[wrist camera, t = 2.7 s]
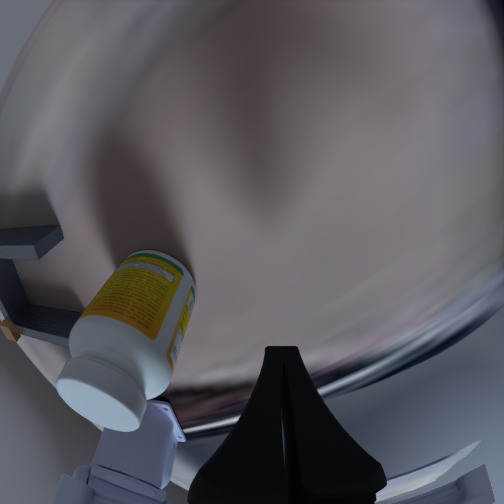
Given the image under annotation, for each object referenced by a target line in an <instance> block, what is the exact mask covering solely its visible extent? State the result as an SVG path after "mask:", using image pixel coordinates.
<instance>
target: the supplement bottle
mask: <svg viewBox="0 0 504 504" xmlns="http://www.w3.org/2000/svg"><path fill="white" fill-rule="evenodd" d="M195 299H196V288H195V284H194V281H193V279H192V276H191V275H190V273H189V272H188V270H187V269H186V268H185V267H184V266H183V265H182V264H181V263H180V262H179V261H177V260H176V259H174V258H172V257H171V256H169V255H167V254H164V253H162V252H158V251H154V250H143V251H138V252H135V253H133V254H131V255H129V256H128V257H127V258H126V259H125V260H124V261H123V262H122V263H121V264H120V265H119V267H118V268H117V269H116V270H115V271H114V272H113V274H112V275H111V276H110V278H109V279H108V280H107V281H106V283H105V284H104V285H103V287H102V288H101V289H100V290H99V292H98V293H97V294H96V296H95V297H94V298H93V300H92V301H91V302H90V304H89V305H88V306H87V308H86V309H85V311H84V312H83V313H82V315H81V316H80V317H79V319H78V320H77V322H76V323H75V324H74V326H73V328H72V330H71V332H70V336H69V350H70V353H71V356H72V359H70V360H68V361H67V362H66V363H65V365H64V368H63V369H62V371H61V373H60V375H59V377H58V379H57V382H56V388H57V391H58V393H59V394H60V396H61V397H62V398H63V400H64V401H65V402H66V403H67V404H68V405H69V406H70V407H71V408H72V409H74V410H75V411H76V412H78V413H79V414H80V415H82V416H83V417H85V418H87V419H88V420H90V421H92V422H94V423H96V424H98V425H101V426H103V427H106V428H109V429H113V430H117V431H123V432H130V431H134V430H136V429H138V428H139V426H140V424H141V421H142V418H143V415H144V412H145V410H146V407H147V400H149V399H152V398H155V397H157V396H158V395H160V394H161V393H162V392H163V391H164V390H165V389H166V388H167V386H168V384H169V382H170V380H171V377H172V373H173V370H174V367H175V364H176V360H177V357H178V354H179V351H180V347H181V344H182V341H183V338H184V335H185V332H186V329H187V326H188V323H189V319H190V316H191V313H192V310H193V307H194V303H195Z"/></svg>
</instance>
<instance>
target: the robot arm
mask: <svg viewBox="0 0 504 504" xmlns="http://www.w3.org/2000/svg"><path fill="white" fill-rule="evenodd" d="M281 413H282V422H283V431H284V442H285V467H284V454H283V439H282V422H281ZM178 441H181V442H185V441H186V437H185V435H184V433H183V431H182V429H181V427H180V425H179V423H178V421H177V418H176V416H175V414H174V412H173V410H172V407H171V405H170V404H169V403H168V402H164V401H158V400H152V399H149V400H147V407H146V410H145V412H144V415H143V418H142V421H141V424H140V426H139V428H138V429H136V430H134V431H130V432H123V431H117V430H113V429H109V428H106V427H104V430H103V433H102V435H101V438H100V441H99V444H98V447H97V450H96V452H95V455H94V458H93V461H92V465H91V466H89V467H86V466H84V465H83V466H81V467H77V468H76V470H75V472H74V474H73V476H72V477H70V476H68V475H66V474H62V477H61V480H60V483H59V486H58V489H57V492H56V495H55V498H54V501H53V504H171V503H170V501H169V500H168V499H167V498H165V495H166V492H165V491H162V490H161V489H162V488H164V487H165V486H166V485H167V484H168V482H169V480H170V478H171V473H172V468H173V463H174V458H175V453H176V448H177V443H178ZM386 485H387V480H386V476H385V473H384V470H383V468H382V466H381V464H380V463H379V462H378V461H376V460H375V459H374V458H373V457H372V456H370V455H369V454H368V453H367V452H366V451H365V450H364V449H363V448H362V447H361V446H360V445H358V444H357V443H356V441H355V440H354V439H353V438H352V437H351V436H350V435H349V434H348V433H347V432H346V431H345V429H344V428H343V427H342V426H341V425H340V423H339V422H338V421H337V420H336V418H335V417H334V416H333V414H332V413H331V412H330V410H329V409H328V407H327V406H326V404H325V403H324V401H323V399H322V398H321V396H320V395H319V393H318V391H317V389H316V388H315V386H314V384H313V382H312V380H311V378H310V376H309V374H308V372H307V370H306V368H305V365H304V363H303V360H302V358H301V355H300V352H299V349H298V347H297V346H267V347H266V348H265V356H264V361H263V365H262V368H261V372H260V375H259V377H258V380H257V383H256V386H255V388H254V390H253V392H252V395H251V397H250V399H249V401H248V403H247V405H246V407H245V409H244V411H243V413H242V414H241V416H240V418H239V420H238V421H237V423H236V424H235V426H234V427H233V429H232V431H231V432H230V433H229V435H228V436H227V438H226V439H225V440H224V442H223V443H222V444H221V445H220V447H219V448H218V449H217V451H216V452H215V453H214V454H213V455H212V456H211V458H210V459H209V460H208V461H207V462H206V463H205V464H204V465H203V466H202V467H201V468H200V469H199V470H198V472H197V474H196V476H195V478H194V479H193V481H192V483H191V486H190V488H189V493H188V500H187V501H188V503H189V504H374V501H376V493H377V492H378V491H380V490H382V489H383V488H384V487H385V486H386ZM494 502H495V499H494V495H493V491H492V487H491V484H490V480H489V477H488V473H487V470H486V467H485V465H482V466H480V467H478V468H476V469H474V470H472V471H470V472H468V473H466V474H465V475H463V476H461V477H460V478H458V479H457V480H456V481H453V482H451V483H449V484H447V485H444V486H442V487H439V488H437V489H434V490H432V491H429V492H427V493H424V494H421V495H418V496H415V497H412V498H409V499H406V500H403V501H400V502H396V503H393V504H493V503H494Z"/></svg>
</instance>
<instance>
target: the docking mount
mask: <svg viewBox="0 0 504 504" xmlns="http://www.w3.org/2000/svg"><path fill="white" fill-rule="evenodd" d="M62 240H63V235H62V231H61V227H60V225H58V226H40V227H24V228H10V229H0V310H1V312H2V314H3V316H4V318H5V320H3V321H2V322H1V324H0V327H1V329H2V331H3V333H4V334H5V336H6V338H7V339H9V340H12V341H15V342H17V341H18V339H19V338H20V337H21V335H20V334H22V335H25V336H29V337H32V338H36V339H39V340H43V341H47V342H50V343H54V344H58V345H62V346H66V347H69V336H70V332H71V330H72V328H73V326H74V324H75V323H76V322H77V320H78V319H79V317H80V316H81V315H82V313H78V312H72V311H65V310H59V309H53V308H47V307H42V306H36V305H31V304H29V301H28V299H27V297H26V295H25V292H24V290H23V287H22V285H21V283H20V280H19V278H18V275H17V272H16V270H15V267H14V264H13V262H12V259H24V260H39V259H40V258H42V257H43V256H44V255H45V254H46V253H47V252H48V251H50V250H51V249H52V248H53V247H54V246H56V245H57V244H58V243H59V242H60V241H62Z"/></svg>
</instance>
